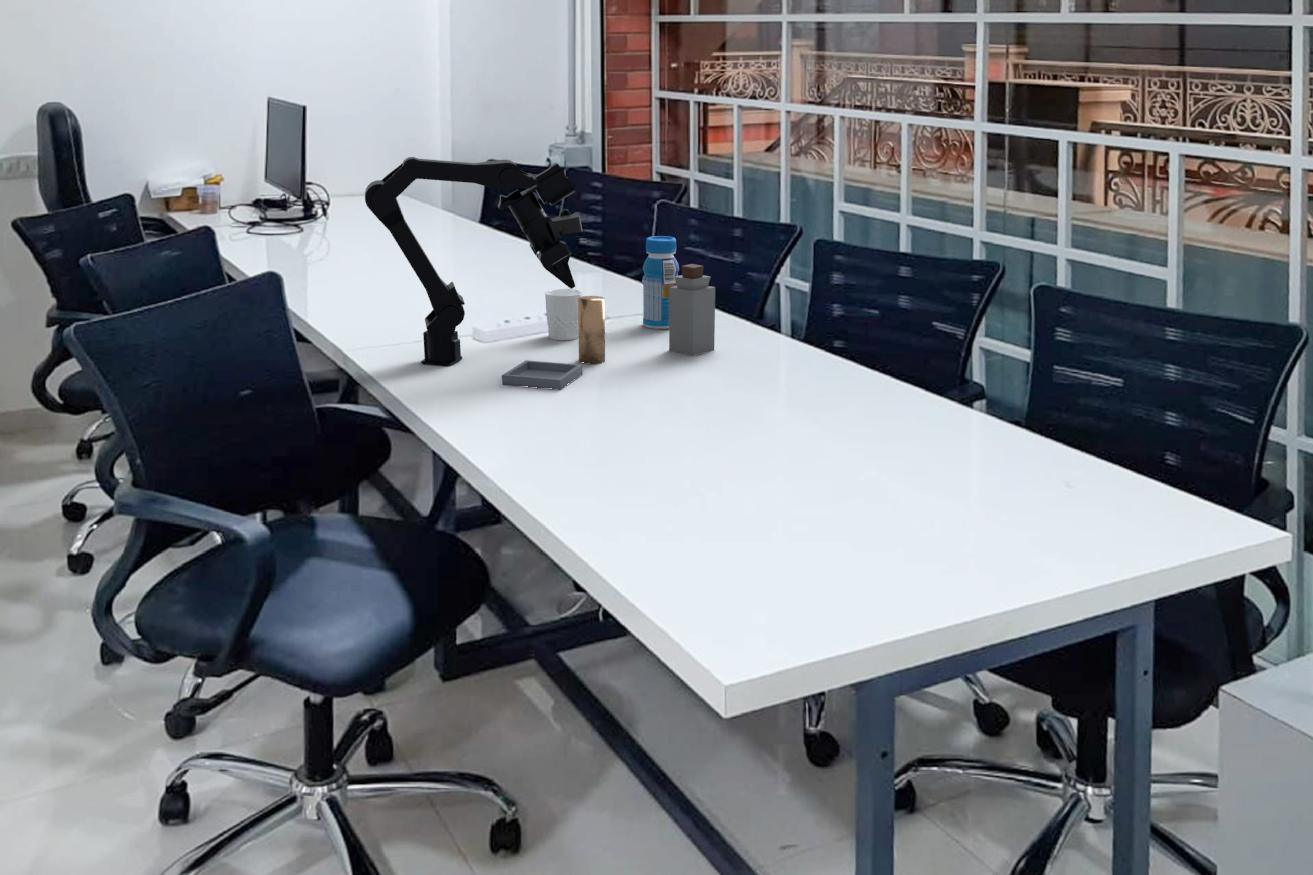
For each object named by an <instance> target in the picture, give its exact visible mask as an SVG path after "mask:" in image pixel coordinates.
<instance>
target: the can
mask: <svg viewBox="0 0 1313 875" xmlns="http://www.w3.org/2000/svg"><path fill="white" fill-rule="evenodd" d="M605 306H606V303H605V297H603V296H598V295H584V296H581V297H579V298H578V338H577V339H578V362H579V361H580V362H584V363H590V364H589V365H597V364H596V363H600V364H603V363H605V362H606V331H605V330H606V318H605V316H606V314H605V313H606V312H605V311H606V310H605V308H606V307H605ZM580 362H579V363H580ZM602 362H603V363H602ZM584 363H583V364H584Z"/></svg>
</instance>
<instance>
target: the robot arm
mask: <svg viewBox="0 0 1313 875" xmlns="http://www.w3.org/2000/svg"><path fill="white" fill-rule="evenodd" d="M416 180H430V181H431V180H432V181H444V182H455V183H456V182H457V183H468V184H469V183H470V184H477V185H481V186H484V187H486V188H490V189H494V190H498V191H502V192H507V193H509V194H508V195H503V194H500V195H499V201H498V204H497V207H498V209H499V210H500V211H503V210H504V209H506V208H509V210H510V212H511V213H512V215H513V217H514V218H515V220H516V221H517V224H518V225H519V227H520V229H521V231H522V232H523V233H524V235H525V237H526V239H527V241H528V242H529V247H530V249H531V250H532V252H533V253H534V255H535V257H537V259H538V260H539V262H540V264H541V265H542V267H543V268H544V269H545V271H547V272H549V273H550V274H551V275H552V276H554V277H555V278H556V279H558V280H559V281H560V282H562V284H564V285H565V286H566V287H568V289H574V288H575V287H576V283H575V280H574V277H573V275H572V271H571V268H570V264H569V262H570V258H571V256H572V251H571V249H570V247H569V246H568V244H567V243H566V242H565V241H563V240H562V239H563V237H562V235H568V234H574V233H576V234H579V233H582V232H583V226H582V220H581V216H580V214H578V213H575V212H574V213H571V212H570V211H569V209H567V208H565V209H560V210H559V213H558V216H555V217H552V218H551V216H549V215H548V213H546V212H545V209H543V207H542V205H541V203H540V201H539V199H538V198H537V196H536V195H535V193H534V192H536V193H537V195H538V197H539V198H540V200H541V202H542V203H543V205H546V204H547V205H548V204H549V205H550V206H554V205H555V204H558V202H560V201H562V200H564V199H566V198H567V197H569V196H570V195H573V194H574V193H576V190H575V188H574V186H573V184H572V182H571V181H570V178H569V177H568V176H566V174H565V172H564V171H563V169H562V167H561V165H559V163H557V162H555V163H553V164H552V165H550V166H549V167H548V168H547V169H546V170H543V171H542V172H540V173H538V174H536V175H535V176H534V175H532V174H531V173H530V172H529V173H527V172H525V171H522V169H521V168H520V167H519V166H518V165H517V164H516V163H515V162H514V161H512V160H511V159H496V160H487V161H481V162H465V161H463V162H462V161H455V160H454V161H452V160H441V159H440V160H439V159H429V158H428V159H427V158H417V157H416V156H415V157H414V156H411V157H410V156H409V157H407V158H405V159H404V160H403V161H402V163H401V164H399V165H398V166H397V167H396V168H394V169H393V170H392V171H391V172H389V173H388V174H386V175H385V177H383V178H382V179H380V180H379V179H378V180H374V181H371V182H370V183H369V184H368V185H367V186H366V188H365V191H364V200H365V205H366V207H367V208H368V209H369V210H370V212H372V214H373V215H374V216H375V217H376V219H378V221H379V222H380V223H381V224H382V225H383V226H384V227H385V228H386V229H387V230H388V231H389V232H390V234H391V236H392V237H393V239H394V240H395V242H396V243H397V245H398V247H399V248H400V250H401V251H402V253H403V255H404V257H405V258H406V260H407V262H408V263H409V265H410V267H411V268H412V270H413V271H414V273H415V274H416V276H417V277H418V279H419V281H420V283H421V284H422V286H423V288H424V289H425V291H426V294H427V296H428V299H429V301H430V305H431V307H432V310H431V311H430V312H429V313H428V314H427V315H426V316H425V318H424V322H425V327H426V331H424V332H422V335H423V351H424V352H423V353H424V354H423V356H424V359H422V360H420V364H423V365H425V364H427V365H436V366H437V365H438V366H452V365H453V364H456V363H457V362H459V361H460V360H463V356H462V354H461V340H460V338H459V333H458V330H456V329H457V327H458V326H459V325H460V324H462V323H463V321H464V319H465V314H466V313H465V309H464V306H465V301H464V300H465V299H464V298H463V296H462V295H461V294H460V293H459V292H458V291H457V289H456V286H455V283H454V281H451V282H450V283H448V284H447V283H446V282H445V281H444V280H443V279H442V277H440V275H439V273H438V272H437V269H435V267H434V265H433V264H432V262H431V260H430V259H429V257H428V255H427V253H426V252H425V251H424V249H423V247H422V245H421V244H420V242H419V241H418V238H417V237H416V236H415V234H414V232H413V231H412V229H411V227H410V226H409V224H408V223H407V221H406V219H405V216H404V214H403V211H402V208H401V206H400V204H399V201H398V199H397V198H398V197H399V196H400V195H401V194H402V193H403V192H404V191H405V190H406V189H407V188H408V187H409V186H411V185H412V183H414V182H415V181H416ZM518 188H521V189H525V190H523V191H521V192H520V189H518ZM510 192H511V193H510Z"/></svg>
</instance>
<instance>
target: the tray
mask: <svg viewBox="0 0 1313 875" xmlns="http://www.w3.org/2000/svg"><path fill="white" fill-rule="evenodd" d="M583 372H584V371H583V364H576V363H562V362H552V361H551V362H550V361H538V360H529V359H528V360H527V359H526V360H524V361H522V362H521V363H520V364H519V363H518V364H517V365H516V366H514V367H513V368H511V369H510V370H508V371H506V372H504V373H503V374H501V384H502V386H509V387H518V386H528V387H527V388H530V387H537V388H536V389H541V388H552V389H551V390H553V389H558V390H557V391H562V390H563V389H564V388H566V387H567V386H568V385H567V384H568V383H570V382H571V381H573V380H574V379H576V378H577V377H579V376H580V375H581V376H583V375H584V374H583ZM582 374H583V375H582ZM581 376H580V377H581ZM580 377H579V378H580ZM577 379H578V378H577ZM577 379H576V380H577ZM574 381H575V380H574ZM574 381H573V382H574ZM570 384H571V383H570ZM565 386H566V387H565ZM562 388H563V389H562ZM561 389H562V390H561Z"/></svg>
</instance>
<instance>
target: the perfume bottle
mask: <svg viewBox="0 0 1313 875" xmlns="http://www.w3.org/2000/svg"><path fill="white" fill-rule="evenodd" d="M681 272H682V273H681V275H678V276H675V277H674V278H675V281H676V285H677V286H674V287H670V297H669V329H668V330H669V332H668V335H669V336H668V337H669V338H668V344H669V346H668V347H669V348H668V350H669V351H671V352H674V353H679V354H684V355H688V356H693V357H694V356H697V355H702V354H704V353H709V352H712V351H715V332H716V331H715V328H716V327H715V326H716V325H715V322H716V320H715V319H716V287H715V286H709V283H710V280H711V278H712V277H711V276H709V275H704V265H700V264H695V263H690V264H685V265H681Z"/></svg>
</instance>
